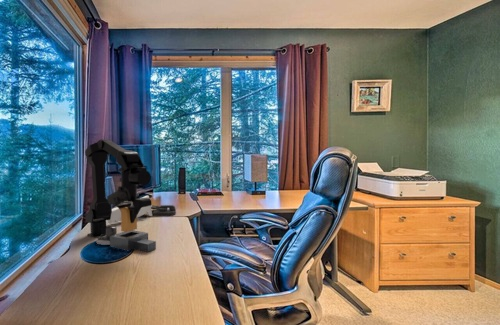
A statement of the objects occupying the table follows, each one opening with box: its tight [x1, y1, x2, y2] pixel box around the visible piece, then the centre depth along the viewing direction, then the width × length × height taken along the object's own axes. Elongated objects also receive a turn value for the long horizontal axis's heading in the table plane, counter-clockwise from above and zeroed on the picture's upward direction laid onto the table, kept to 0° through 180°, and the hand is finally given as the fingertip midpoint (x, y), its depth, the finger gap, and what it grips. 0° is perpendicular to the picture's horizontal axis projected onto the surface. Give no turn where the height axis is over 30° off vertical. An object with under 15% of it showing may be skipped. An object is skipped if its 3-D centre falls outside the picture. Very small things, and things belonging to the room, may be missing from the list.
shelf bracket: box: [106, 195, 153, 225], centre depth 153 cm, size 6×25×13 cm, turn 148°
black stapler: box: [151, 204, 177, 217], centre depth 168 cm, size 9×7×25 cm
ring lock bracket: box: [95, 225, 157, 253], centre depth 114 cm, size 28×11×6 cm, turn 64°
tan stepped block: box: [120, 207, 138, 232], centre depth 113 cm, size 3×6×9 cm, turn 154°
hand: (129, 222), depth 113 cm, fingers closed on tan stepped block, 3 cm apart
